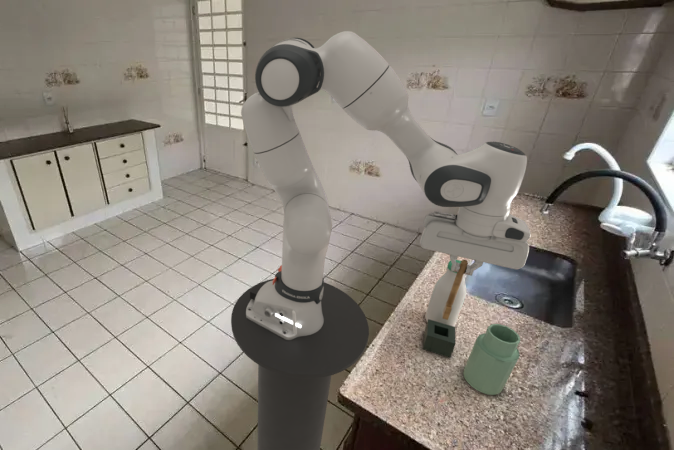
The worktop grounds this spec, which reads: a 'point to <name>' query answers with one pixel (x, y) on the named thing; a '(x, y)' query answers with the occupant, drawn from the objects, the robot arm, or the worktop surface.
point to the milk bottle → (446, 298)
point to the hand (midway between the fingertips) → (461, 272)
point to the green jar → (492, 359)
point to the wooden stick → (454, 289)
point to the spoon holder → (439, 338)
